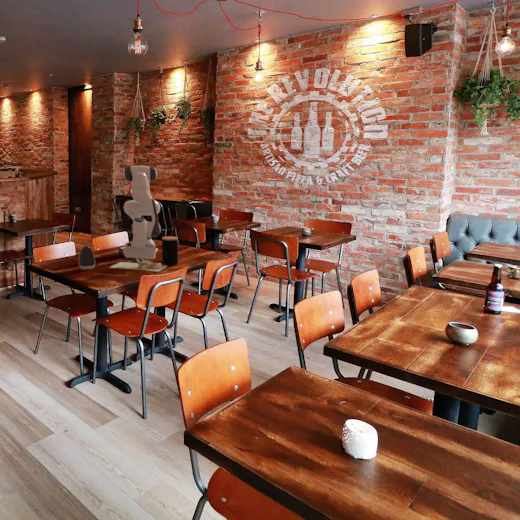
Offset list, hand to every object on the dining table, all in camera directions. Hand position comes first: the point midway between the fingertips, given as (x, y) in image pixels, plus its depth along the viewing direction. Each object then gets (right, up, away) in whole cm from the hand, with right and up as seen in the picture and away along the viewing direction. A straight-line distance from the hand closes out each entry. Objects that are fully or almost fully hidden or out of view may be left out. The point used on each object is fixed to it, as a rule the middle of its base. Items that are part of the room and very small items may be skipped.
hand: (140, 264), depth 298 cm
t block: (+7, -2, -1) cm, 7 cm away
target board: (-1, -2, +1) cm, 3 cm away
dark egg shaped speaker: (-31, -3, -7) cm, 32 cm away
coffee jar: (+16, 0, +16) cm, 23 cm away
